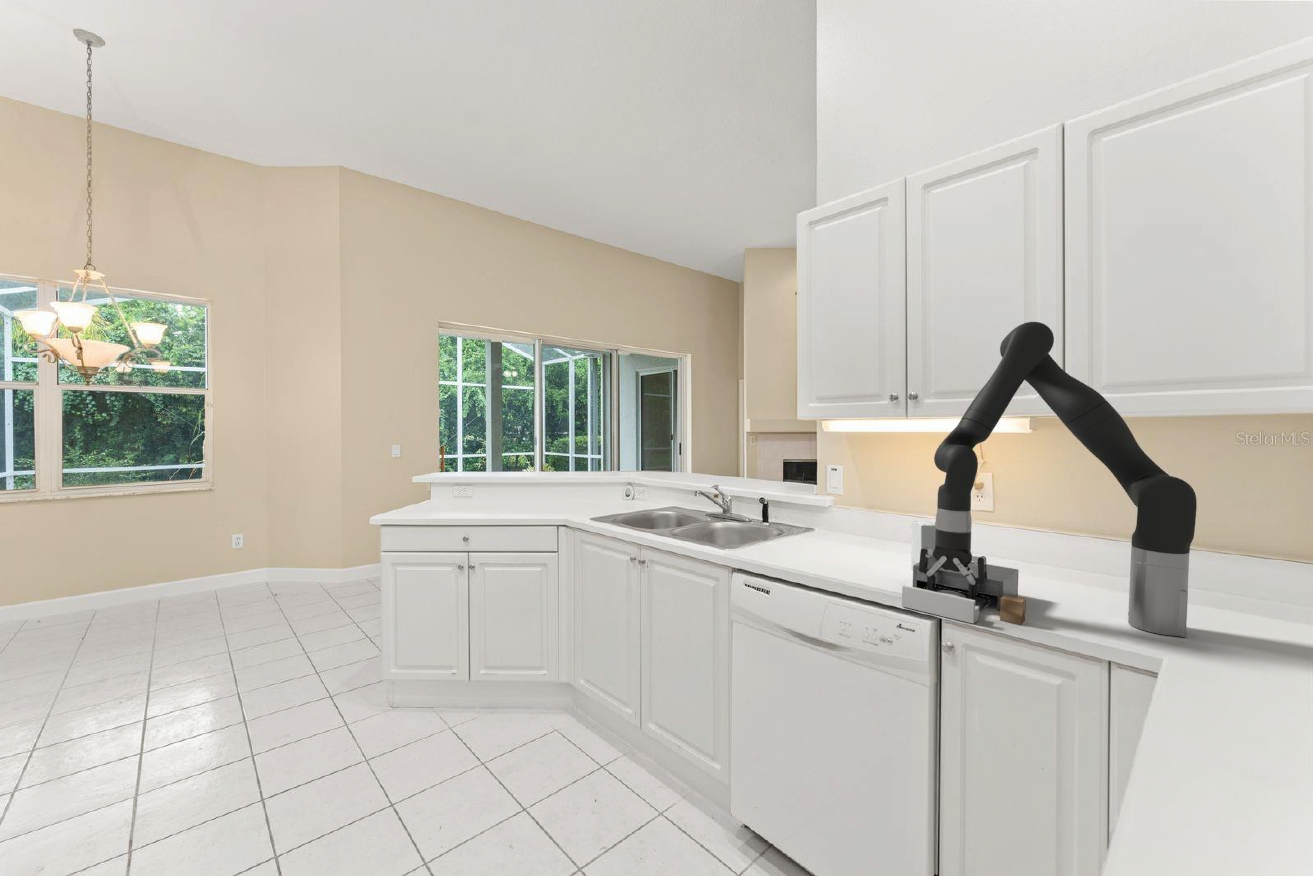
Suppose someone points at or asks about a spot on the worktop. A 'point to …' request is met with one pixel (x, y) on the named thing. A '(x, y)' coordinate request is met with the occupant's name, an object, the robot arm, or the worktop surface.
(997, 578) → the housing
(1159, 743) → the worktop surface
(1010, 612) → the wooden block
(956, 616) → the tray
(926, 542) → the skincare box
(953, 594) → the white rounded flat dome
